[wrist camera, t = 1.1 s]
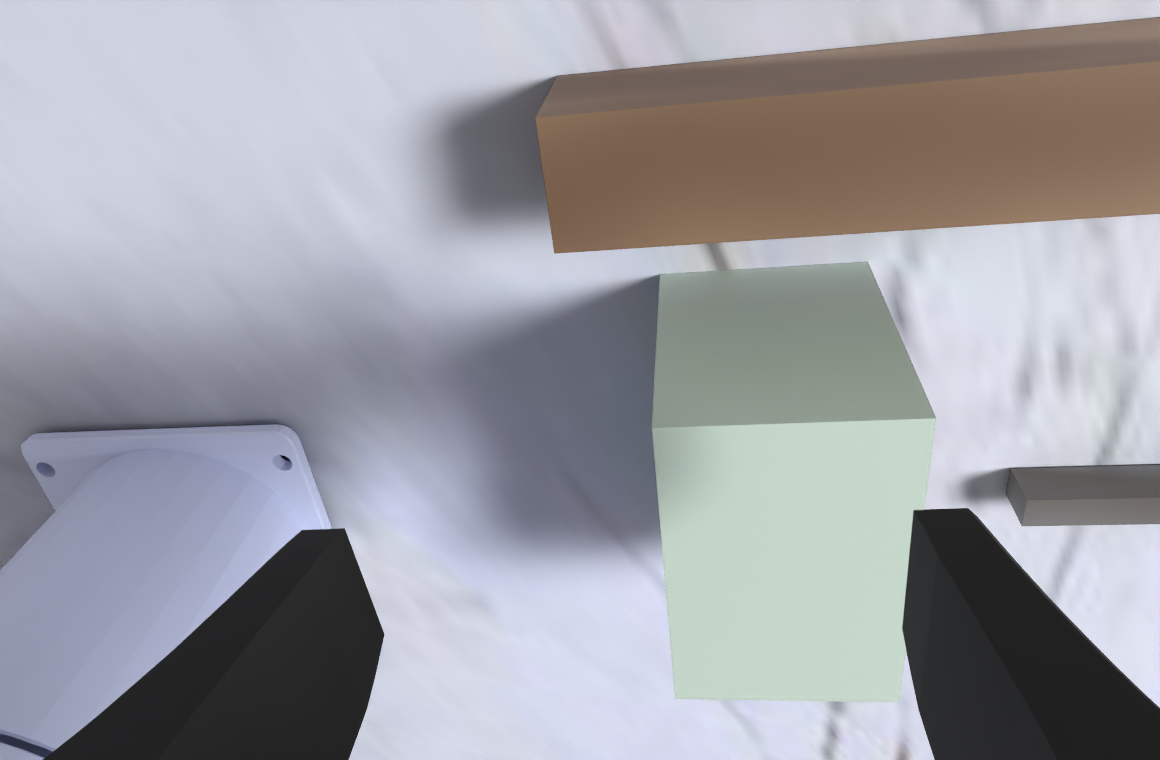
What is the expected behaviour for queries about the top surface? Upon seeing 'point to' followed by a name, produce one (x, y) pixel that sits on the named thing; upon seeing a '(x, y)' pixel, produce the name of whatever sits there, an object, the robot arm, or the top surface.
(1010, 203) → the wall board
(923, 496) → the cabinet block
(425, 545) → the top surface
